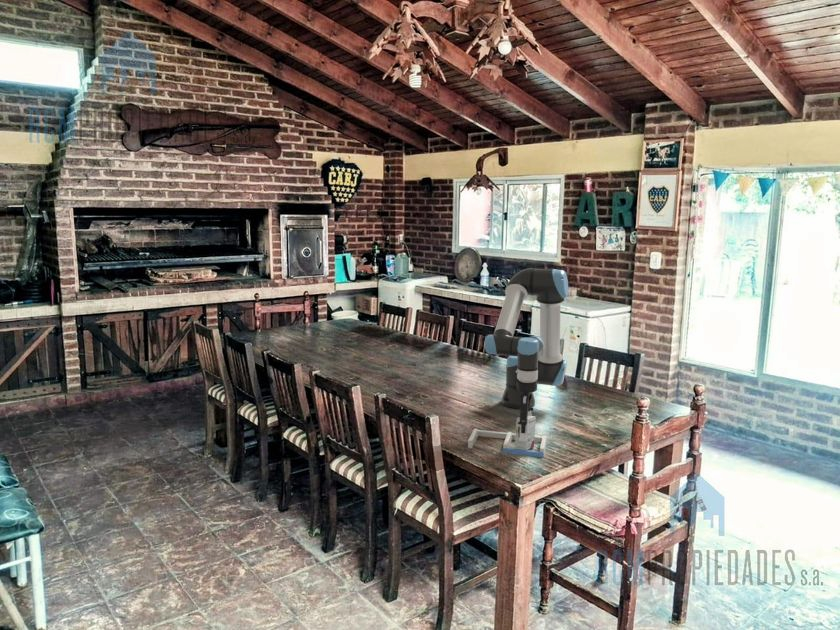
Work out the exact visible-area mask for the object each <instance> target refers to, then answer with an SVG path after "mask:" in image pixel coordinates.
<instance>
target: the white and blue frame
mask: <svg viewBox="0 0 840 630" xmlns="http://www.w3.org/2000/svg"><path fill="white" fill-rule="evenodd" d="M479 437H484V438H492V439H493V438H494V439H495V438H496V439H502V440H503V439H504V442H503V447H502V453H503V454H510V455H511V454H512V455H519V456H520V455H522V456H532V457H538V458H539V457H540V458H545V453H546V447H547V442H548V436H547V435H535V438H534V443H540V446H539V451H535V450H529V449H528V450H521V449H515V448H510V445H511V443H512V441H515V437H516V433H513V432H512V431H508V432H504V431H494V430H483V429H479V428H473V431H472V432H471V434H470V436H469V438H468V440H467V448H468V449H473V447H474V445H475V443H476V441H477V439H478V438H479Z"/></svg>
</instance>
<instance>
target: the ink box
mask: <svg viewBox="0 0 840 630" xmlns="http://www.w3.org/2000/svg"><path fill="white" fill-rule="evenodd" d="M536 419H537V418H536V416H533V415H531V416H528V418H527V424H528V425H527V441H519V435H520V424H518V422H520V416H519V417H516V423H515V434H516V437H515V440H514V449H519V450H528V451H529V450H530V449H532V448H534V447H535V442H534V438H535V436H536Z"/></svg>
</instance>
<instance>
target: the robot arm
mask: <svg viewBox="0 0 840 630" xmlns="http://www.w3.org/2000/svg"><path fill="white" fill-rule="evenodd" d="M504 294H505V298H504V301H503V303H502V308H501V311H500V313H499V316H498V319H497V323H496V325H495V328H494V332H493V334H487V336H486V337H485V340H484V348H485V349H484V350H485V352H486V353H487V354H491V355H495V356H508V357H507V359H506V366H505V367H506V368H505V369H506V371H505V388H504V391H503V393H502V397H501V405H503V406H505V407H508V408H512V409H519V410H520V412H519V413H520V414H519V417H520V422H518V424H520V435H519V441H527V425H528V424H527V418H528V416H532V411H534V406H535V405H536V398H535V396H534V393H535V392H536V391H537V390H538V385H544V386H551V387H553V386H557V387H560V386H562V384H563V383H564V380H565V376H566V370H567V362H568V361H567V360H565V359H564V356H563V354H561V304H563V303H564V302H565V299H566V298H567V297H568V295H569V281H568V275H567V273H566V271H565V270H563V269H555V268H533V267H531V268H530V267H529V268H525V269H521V270H520V271H518V272H516V274H514V275H513V276H512V277H511V278H510V280H509V281H508V282H507V285H506V287H505V290H504ZM528 296H534V297H536V302H538V303H539V321H540V322H539V336H537V335H532V336H529V337H526V336H525V337H522V336H514V334H515V331H516V327H517V324H518V321H519V317H520V313H521V310H522V307H523V303H524V301H526V299H527V297H528Z"/></svg>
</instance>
